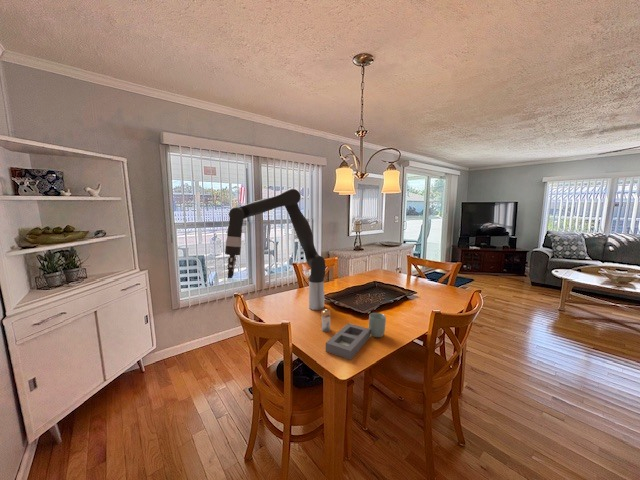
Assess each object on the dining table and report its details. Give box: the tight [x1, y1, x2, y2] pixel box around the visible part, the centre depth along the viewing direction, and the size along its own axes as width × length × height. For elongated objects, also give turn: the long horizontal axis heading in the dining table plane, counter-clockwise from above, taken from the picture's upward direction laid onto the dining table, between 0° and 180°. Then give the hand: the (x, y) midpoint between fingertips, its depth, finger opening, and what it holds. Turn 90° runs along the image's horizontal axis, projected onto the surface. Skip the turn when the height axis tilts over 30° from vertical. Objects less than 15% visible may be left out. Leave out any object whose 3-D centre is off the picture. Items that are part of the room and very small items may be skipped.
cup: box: [368, 312, 387, 338], centre depth 125 cm, size 8×8×10 cm
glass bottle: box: [321, 308, 331, 333], centre depth 131 cm, size 4×4×11 cm
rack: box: [325, 323, 371, 361], centre depth 118 cm, size 12×22×4 cm, turn 148°
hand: (230, 276), depth 133 cm, fingers open, 8 cm apart
